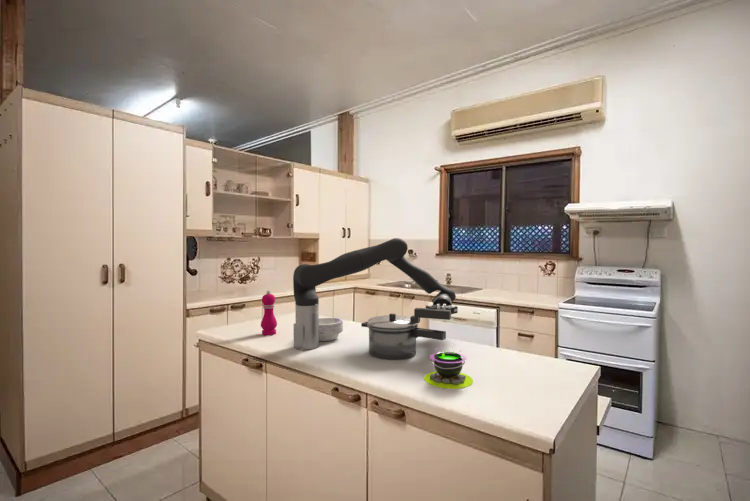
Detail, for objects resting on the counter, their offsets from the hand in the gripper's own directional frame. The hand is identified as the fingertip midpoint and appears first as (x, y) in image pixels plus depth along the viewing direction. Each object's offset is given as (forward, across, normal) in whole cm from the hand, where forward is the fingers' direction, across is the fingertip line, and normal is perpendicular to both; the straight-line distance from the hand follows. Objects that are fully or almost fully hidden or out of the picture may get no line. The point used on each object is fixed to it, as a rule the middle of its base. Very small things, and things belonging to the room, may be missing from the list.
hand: (440, 313), depth 143 cm
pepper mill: (-18, -78, +16) cm, 82 cm away
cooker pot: (0, -14, +16) cm, 21 cm away
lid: (0, -12, +4) cm, 13 cm away
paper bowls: (-16, -50, +16) cm, 55 cm away
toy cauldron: (+23, +4, +16) cm, 28 cm away
